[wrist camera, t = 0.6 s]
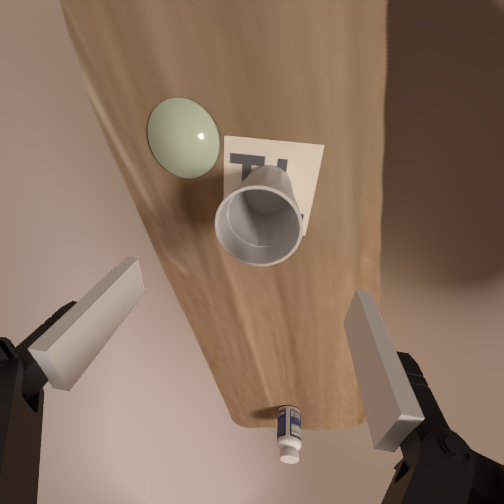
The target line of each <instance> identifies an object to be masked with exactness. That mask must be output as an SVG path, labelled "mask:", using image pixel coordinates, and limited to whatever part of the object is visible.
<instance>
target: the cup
mask: <svg viewBox="0 0 504 504" xmlns="http://www.w3.org/2000/svg"><path fill="white" fill-rule="evenodd" d="M215 232H216V236H217V238H218V241H219V242H220V244H221V246H222V247H223V249H224V250H225V251H226V252H227V253H228V254H229V255H230V256H232V257H233V258H235V259H236V260H238V261H240V262H242V263H245V264H248V265H252V266H269V265H274V264H277V263H279V262H282V261H283V260H285V259H287V258H288V257H289V256H290V255H291V254H292V253H293V252H294V251H295V250H296V249H297V247H298V245H299V243H300V241H301V238H302V234H303V221H302V217H301V214H300V211H299V208H298V205H297V202H296V200H295V197H294V194H293V190H292V182H291V180H290V177H289V176H288V174H287V173H286V172H285V171H284V170H282V169H281V168H279V167H277V166H273V165H264V166H260V167H258V168H256V169H254V170H253V171H252V172H251V173H250V174H249V175H248V177H247V178H246V179H245V180H244V181H243V182H242V183H241V184H240V185H239V186H238V187H237V188H236V189H235V190H233V191H232V192H231V193H230V194H229V195H228V196H227V197H226V198H225V199H224V200H223V201H222V202H221V204H220V206H219V207H218V210H217V212H216V216H215Z"/></svg>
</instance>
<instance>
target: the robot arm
mask: <svg viewBox="0 0 504 504" xmlns="http://www.w3.org/2000/svg"><path fill="white" fill-rule="evenodd" d="M144 294H145V289H144V284H143V279H142V275H141V270H140V265H139V260H138V259H137V258H131V257H126V258H125V259H123V260H122V261H121V262H120V263H119V264H118V265H117V266H116V267H115V268H114V269H113V270H112V271H111V272H109V274H107V275H106V276H105V277H104V278H103V279H102V280H101V281H100V282H99V283H98V284H97V285H95V286H94V287H93V288H92V289H91V290H90V291H89V292H88V293H87V294H86V295H85V296H84V297H83V298H81V300H79V301H78V302H75V301H72V302H70V303H68V304H66V305H65V306H63V307H61V308H60V309H59V310H58V311H57V312H55V313H54V314H53V315H52V317H50V318H49V319H47V320H46V321H45V323H44V324H42V325H41V326H39V328H37V329H36V330H35V331H34V332H33V333H32V334H30V335H29V336H28V337H27V338H26V339H25V340H24V341H23V342H22V343H20V344H19V345H18V346H17V347H16V348H15V347H14V345H13V344H12V342H11V341H10V340H9V339H7V338H5V337H0V504H37V493H38V478H39V463H40V448H41V433H42V418H43V403H44V390H43V386H44V385H45V384H46V382H48V381H49V382H50V384H51V385H52V387H53V388H55V389H60V390H66V391H70V389H71V388H72V387H73V386H74V384H75V383H76V382H77V380H78V379H79V378H80V377H81V375H82V374H83V373H84V371H85V370H86V369H87V368H88V366H89V365H90V363H91V362H92V361H93V360H94V358H95V357H96V356H97V355H98V353H99V352H100V351H101V349H102V348H103V347H104V346H105V344H106V343H107V342H108V340H109V339H110V338H111V336H112V335H113V334H114V333H115V331H116V330H117V329H118V327H119V326H120V325H121V323H122V322H123V321H124V320H125V318H126V317H127V316H128V314H129V313H130V312H131V310H132V309H133V308H134V307H135V305H136V304H137V303H138V301H139V300H140V299H141V298H142V296H143V295H144ZM344 326H345V331H346V335H347V339H348V343H349V347H350V351H351V355H352V359H353V363H354V367H355V372H356V376H357V380H358V384H359V388H360V392H361V396H362V400H363V404H364V408H365V413H366V417H367V421H368V425H369V429H370V433H371V437H372V441H373V445H374V448H375V449H379V450H385V451H390V452H395V450H396V449H397V448H398V447H399V446H400V447H401V451H402V453H403V457H404V458H403V459H402V460H401V461H400V462H399V463H398V464H397V465H396V466H395V467H394V469H395V470H396V472H395V475H394V477H393V479H392V481H391V483H390V485H389V488H388V490H387V492H386V494H385V497H384V499H383V501H382V503H381V504H504V465H501V464H499V463H497V462H495V461H493V460H491V459H489V458H487V457H485V456H483V455H481V454H479V453H477V452H475V451H473V450H472V449H470V447H469V446H468V445H467V443H466V442H465V441H464V440H463V439H462V438H461V437H460V436H459V435H458V434H457V433H455V432H453V431H452V430H451V429H450V428H449V426H448V424H447V422H446V420H445V418H444V416H443V414H442V412H441V410H440V408H439V406H438V404H437V402H436V400H435V398H434V396H433V394H432V392H431V390H430V388H428V384H427V382H426V380H425V378H424V377H423V374H422V372H421V370H420V368H419V366H418V364H417V363H416V361H415V360H414V359H413V358H412V357H411V356H410V355H409V354H408V353H403V352H397V351H396V350H395V348H394V345H393V343H392V341H391V338H390V336H389V334H388V331H387V329H386V327H385V324H384V322H383V320H382V317H381V315H380V313H379V310H378V308H377V306H376V303H375V301H374V299H373V296H372V294H371V292H370V291H367V290H360V289H356V292H355V294H354V297H353V299H352V302H351V305H350V307H349V310H348V312H347V315H346V318H345V320H344Z"/></svg>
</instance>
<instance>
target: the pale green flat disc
mask: <svg viewBox="0 0 504 504" xmlns="http://www.w3.org/2000/svg"><path fill="white" fill-rule="evenodd" d="M148 140H149V144H150V148H151V150H152V152H153V154H154V156H155V158H156V159H157V161H158V162H159V163H160V164H161V165H162V166H163V167H164V168H165V169H166V170H167V171H169V172H170V173H172V174H174V175H176V176H179V177H182V178H196V177H199V176H202V175H203V174H205V173H206V172H208V171H209V170H210V169H211V168H212V167H213V166H214V164H215V163H216V160H217V158H218V155H219V151H220V137H219V132H218V129H217V126H216V124H215V122H214V120H213V118H212V117H211V115H210V114H209V113H208V112H207V111H206V109H204V108H203V107H202V106H201V105H199V104H198V103H196V102H194V101H192V100H189V99H186V98H170V99H167V100H165V101H163V102H161V103H160V104H159V105H158V106H157V107H156V108H155V109H154V111H153V112H152V114H151V116H150V119H149V122H148Z"/></svg>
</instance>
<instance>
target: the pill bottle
mask: <svg viewBox="0 0 504 504" xmlns="http://www.w3.org/2000/svg"><path fill="white" fill-rule="evenodd" d="M277 444H278V446H279V448H281V450H280V460H281V461H282V462H285V463H289V464H294V463H297V462H298V461H299V454H298V450H300V448H301V418H300V411H299V410H298V409H297V408H296V407H294V406H282V407H280V408H279V410H278V428H277Z"/></svg>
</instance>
